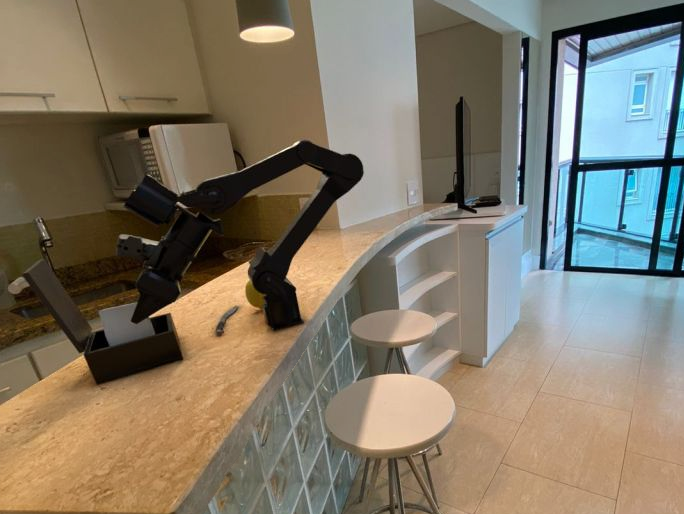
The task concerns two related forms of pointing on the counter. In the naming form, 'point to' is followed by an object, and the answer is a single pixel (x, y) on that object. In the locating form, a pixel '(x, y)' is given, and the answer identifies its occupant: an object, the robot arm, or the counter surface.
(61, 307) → the box lid
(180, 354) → the black open box
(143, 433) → the counter surface
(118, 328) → the grey angular block
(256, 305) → the lemon
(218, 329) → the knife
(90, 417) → the counter surface
